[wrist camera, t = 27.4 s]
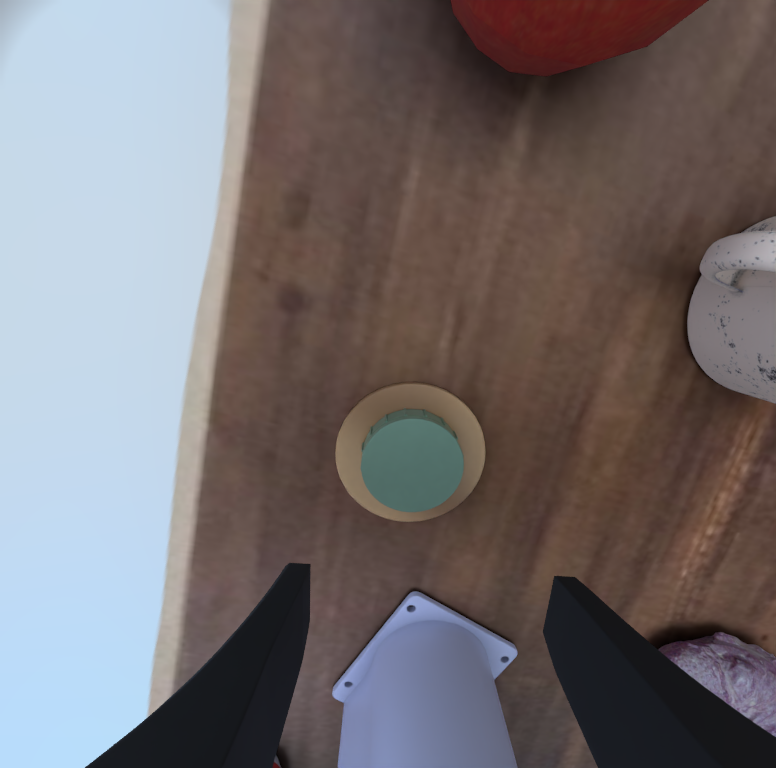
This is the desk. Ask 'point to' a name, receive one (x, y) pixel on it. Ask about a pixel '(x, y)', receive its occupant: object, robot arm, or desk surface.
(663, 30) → the apple
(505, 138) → the desk surface
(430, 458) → the lid
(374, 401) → the cork coaster
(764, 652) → the fossil
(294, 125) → the desk surface
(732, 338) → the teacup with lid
